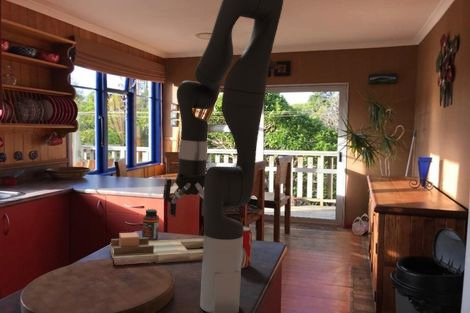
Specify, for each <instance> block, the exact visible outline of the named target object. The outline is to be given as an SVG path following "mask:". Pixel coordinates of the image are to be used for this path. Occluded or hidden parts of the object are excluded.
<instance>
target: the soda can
mask: <svg viewBox="0 0 470 313" xmlns="http://www.w3.org/2000/svg"><path fill="white" fill-rule="evenodd" d="M252 247H253V233H252V231H251V227H250V226H248V225H247V226H246V225H243V245H242V261H241V269H245V267H246V268H247V267H249V266H250V265H251V260H252V250H253V248H252Z"/></svg>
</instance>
